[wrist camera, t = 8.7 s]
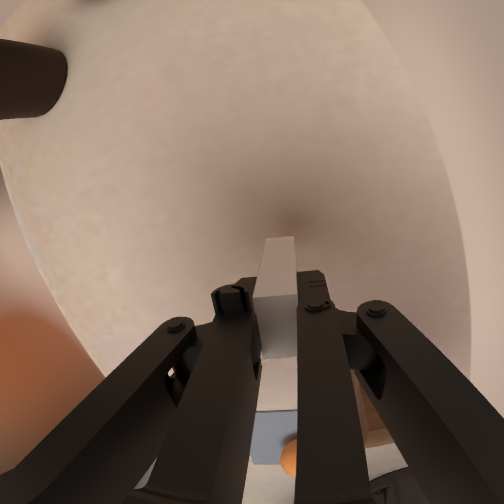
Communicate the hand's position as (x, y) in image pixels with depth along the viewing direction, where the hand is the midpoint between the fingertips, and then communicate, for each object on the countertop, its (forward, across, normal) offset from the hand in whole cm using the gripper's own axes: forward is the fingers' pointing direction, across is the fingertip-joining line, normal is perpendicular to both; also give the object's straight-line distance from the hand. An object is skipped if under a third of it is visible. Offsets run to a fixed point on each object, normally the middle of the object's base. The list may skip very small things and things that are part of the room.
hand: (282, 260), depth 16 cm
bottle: (+5, +19, -18) cm, 26 cm away
